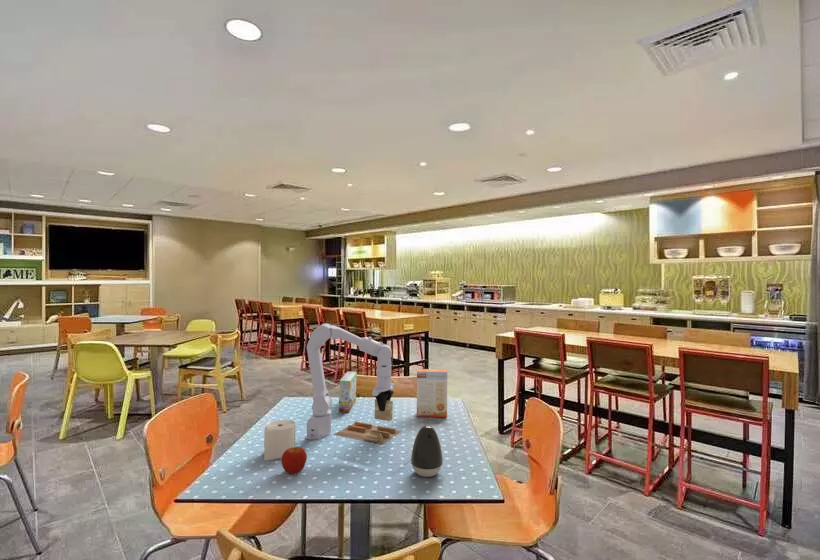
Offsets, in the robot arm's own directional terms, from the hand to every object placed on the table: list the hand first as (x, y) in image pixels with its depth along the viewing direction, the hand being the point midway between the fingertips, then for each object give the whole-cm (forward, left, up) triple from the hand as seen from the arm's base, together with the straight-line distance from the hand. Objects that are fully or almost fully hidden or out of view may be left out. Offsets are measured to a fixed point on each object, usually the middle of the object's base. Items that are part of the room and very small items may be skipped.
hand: (383, 409), depth 165 cm
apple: (-40, +9, -11) cm, 43 cm away
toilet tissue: (-32, +24, -11) cm, 41 cm away
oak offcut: (-7, 0, -8) cm, 11 cm away
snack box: (+27, +35, -11) cm, 45 cm away
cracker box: (+34, -7, -11) cm, 36 cm away
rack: (-2, +5, -10) cm, 12 cm away
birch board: (0, 0, -4) cm, 4 cm away
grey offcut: (-7, 0, -9) cm, 12 cm away
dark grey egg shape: (-21, -29, -11) cm, 37 cm away
